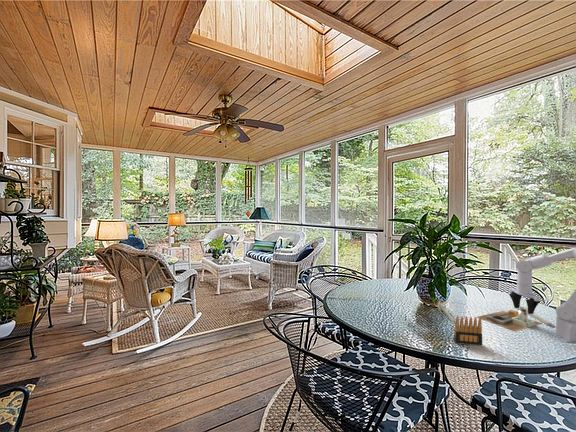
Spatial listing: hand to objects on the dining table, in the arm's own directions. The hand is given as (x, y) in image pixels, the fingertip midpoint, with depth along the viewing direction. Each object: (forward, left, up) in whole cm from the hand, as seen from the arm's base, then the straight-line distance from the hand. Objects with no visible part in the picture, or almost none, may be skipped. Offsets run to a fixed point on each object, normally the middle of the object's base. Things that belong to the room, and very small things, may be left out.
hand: (523, 310), depth 144 cm
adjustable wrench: (+13, -13, -8) cm, 20 cm away
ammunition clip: (-23, +36, -8) cm, 43 cm away
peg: (0, 0, -6) cm, 6 cm away
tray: (0, 0, -8) cm, 8 cm away
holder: (+3, +5, -8) cm, 9 cm away
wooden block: (+6, +3, -6) cm, 9 cm away
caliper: (+8, +33, -8) cm, 35 cm away
